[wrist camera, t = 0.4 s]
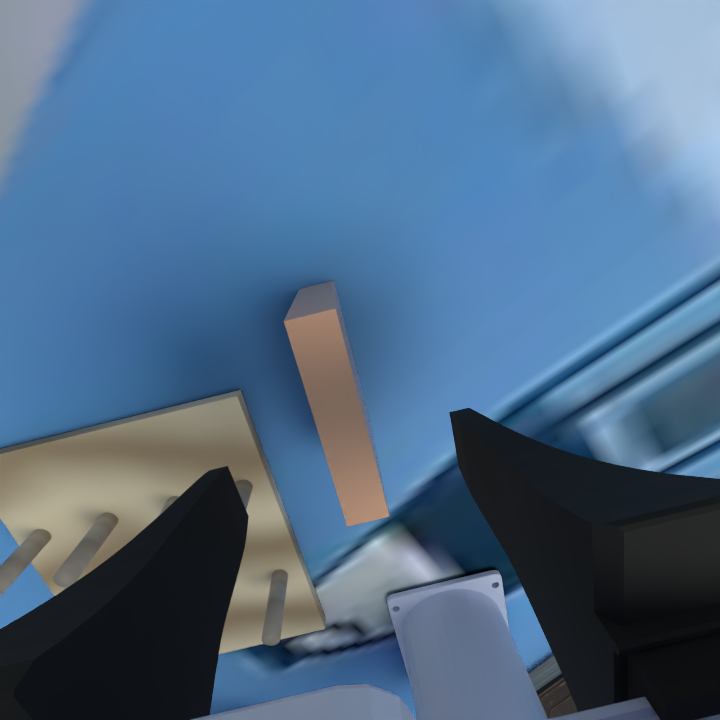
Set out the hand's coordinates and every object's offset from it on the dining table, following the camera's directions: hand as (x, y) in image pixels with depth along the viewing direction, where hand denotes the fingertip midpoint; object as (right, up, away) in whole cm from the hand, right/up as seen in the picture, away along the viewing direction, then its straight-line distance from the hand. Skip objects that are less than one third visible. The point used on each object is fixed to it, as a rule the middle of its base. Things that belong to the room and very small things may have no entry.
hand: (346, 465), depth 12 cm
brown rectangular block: (-1, +3, +9) cm, 9 cm away
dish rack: (-11, -8, +12) cm, 18 cm away
